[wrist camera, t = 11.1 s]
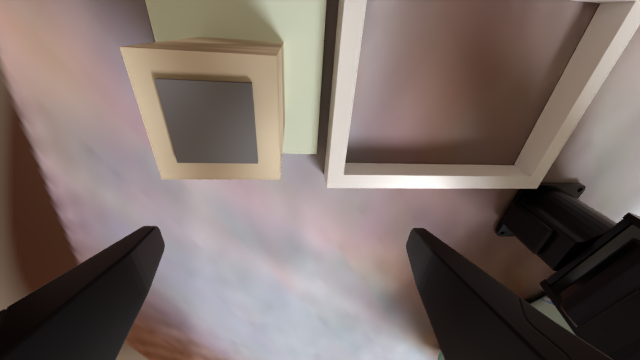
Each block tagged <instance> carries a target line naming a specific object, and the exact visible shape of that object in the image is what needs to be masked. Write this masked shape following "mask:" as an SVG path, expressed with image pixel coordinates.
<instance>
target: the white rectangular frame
mask: <svg viewBox="0 0 640 360" xmlns="http://www.w3.org/2000/svg"><path fill="white" fill-rule="evenodd" d="M572 1H582V2H592V3H600V5H599V7H598V9H597V11H596V12H595V14H594V16H593V18H592V20H591V22H590V24H589V25H588V27H587V29H586V31H585V33H584V35H583V37H582V39H581V40H580V42H579V44H578V46H577V48H576V50H575V52H574V53H573V55H572V57H571V59H570V61H569V63H568V65H567V67H566V68H565V70H564V72H563V74H562V76H561V78H560V80H559V81H558V83H557V85H556V87H555V89H554V91H553V93H552V95H551V96H550V98H549V100H548V102H547V104H546V106H545V108H544V110H543V111H542V113H541V115H540V117H539V119H538V121H537V123H536V124H535V126H534V128H533V130H532V132H531V134H530V136H529V138H528V139H527V141H526V143H525V145H524V147H523V149H522V151H521V152H520V154H519V156H518V158H517V160H516V162H515V164H514V165H458V164H393V163H345V160H346V152H347V145H348V137H349V130H350V122H351V115H352V107H353V100H354V92H355V85H356V77H357V69H358V62H359V54H360V47H361V39H362V32H363V24H364V17H365V9H366V2H367V0H339V6H338V17H337V29H336V41H335V52H334V64H333V76H332V88H331V99H330V111H329V123H328V134H327V146H326V158H325V169H324V177H325V182H326V187H327V188H478V189H537V188H538V186H539V185H540V183H541V181H542V180H543V178H544V177H545V175H546V173H547V172H548V170H549V169H550V167H551V165H552V164H553V162H554V161H555V159H556V157H557V156H558V154H559V153H560V151H561V149H562V148H563V146H564V145H565V143H566V141H567V140H568V138H569V137H570V135H571V133H572V132H573V130H574V129H575V127H576V125H577V124H578V122H579V121H580V119H581V117H582V116H583V114H584V113H585V111H586V109H587V108H588V106H589V105H590V103H591V101H592V100H593V98H594V97H595V95H596V93H597V92H598V90H599V89H600V87H601V85H602V84H603V82H604V81H605V79H606V78H607V76H608V74H609V73H610V71H611V70H612V68H613V66H614V65H615V63H616V62H617V60H618V58H619V57H620V55H621V54H622V52H623V50H624V49H625V47H626V46H627V44H628V42H629V41H630V39H631V38H632V36H633V34H634V33H635V31H636V30H637V28H638V26H639V25H640V0H572Z"/></svg>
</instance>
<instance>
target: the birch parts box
mask: <svg viewBox="0 0 640 360" xmlns="http://www.w3.org/2000/svg"><path fill="white" fill-rule="evenodd" d="M120 50H121V53H122V56H123V59H124V63H125V66H126V69H127V72H128V75H129V78H130V81H131V84H132V88H133V91H134V94H135V97H136V100H137V103H138V106H139V109H140V113H141V116H142V119H143V122H144V125H145V128H146V131H147V134H148V137H149V141H150V144H151V147H152V150H153V153H154V156H155V159H156V162H157V166H158V169H159V172H160V175H161V178H162V179H280V176H281V164H282V152H283V140H284V128H285V81H284V42H272V41H256V40H240V39H224V38H208V37H195V38H187V39H179V40H171V41H163V42H155V43H147V44H139V45H131V46H123V47H120Z"/></svg>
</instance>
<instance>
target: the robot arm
mask: <svg viewBox="0 0 640 360" xmlns="http://www.w3.org/2000/svg"><path fill="white" fill-rule="evenodd" d="M584 190H585V186H584V185H582V184H580V183H540V185H539V186H538V188H537V189H519V191H518V193H517V195H516V196H515V198H514V200H513V201H512V203H511V205H510V207H509V208H508V210H507V212H506V213H505V215H504V217H503V219H502V220H501V222H500V224H499V225H498V227H497V229H496V231H495V233H496V234H497V235H498V236H515V237H517V238H518V239H519V240H520V241H521V242H522V243H523V244H524V245H525V246H526V247H527V248H528V249H529V250H530V251H531V252H532V253H534V254H536V255H538V256H539V257H540V258H541V259H542V260H543V261H544V262H545V263H546V264H547V265H548V266H549V267H550V268H551V269H552V270H553V271H556V272H555V273H554V274H553V275H551V276H550V277H549V278H548V279H546V280H543V281H542V282H540V285H541V286H542V288H543V289H544V291H545V293H546V294H547V296H548V297H549V299H550V300H551V301H552V303H553V304H554V306H555V307H556V309H557V310H558V311H559V313H560V314H561V316H562V317H563V318H564V320H565V321H566V323H567V324H568V325H569V327H570V328H571V330H572V331H573V332H574V334H575V335H574V334H573V333H571V332H570V331H568V330H567V329H565V328H564V327H562V326H561V325H559V324H558V323H556V322H555V321H553V320H552V319H550V318H549V317H547V316H546V315H545V314H543V313H542V312H540V311H539V310H537V309H536V308H534V307H533V306H532V305H530V304H529V303H528V302H526V301H525V300H523V299H522V298H519V297H518V295H516V294H515V293H513V292H512V291H511V290H509V289H508V288H507V287H505V286H504V285H502V284H501V283H500V282H498V281H497V280H495V279H494V278H493V277H491V276H490V275H488V274H487V273H486V272H484V271H483V270H481V269H480V268H479V267H477V266H476V265H475V264H473V263H472V262H470V261H469V260H468V259H466V258H465V257H463V256H462V255H461V254H459V253H458V252H456V251H455V250H454V249H452V248H451V247H449V246H448V245H447V244H445V243H444V242H442V241H441V240H440V239H438V238H437V237H436V236H434V235H433V234H431V233H430V232H429V231H427V230H426V229H424V228H413V229H412V230H411V232H410V235H409V238H408V241H407V244H406V249H407V253H408V257H409V261H410V264H411V268H412V272H413V275H414V279H415V283H416V286H417V289H418V292H419V295H420V297H421V300H422V302H423V305H424V307H425V310H426V313H427V315H428V318H429V320H430V323H431V325H432V328H433V331H434V333H435V336H436V338H437V341H438V343H439V346H440V349H441V351H442V354H443V356H444V359H445V360H640V217H639V216H637V215H634V214H632V213H627V214H626V215H625V216H624V217H622V218H624V219H622V220H621V221H620V222H619V223H616V222H614V221H612V220H611V219H609V218H607V217H606V216H604V215H603V214H601V213H599V212H598V211H596V210H594V209H593V208H591V207H589V206H588V205H586V204H585V203H583V202H581V201H580V200H578V198H579V197H580V195H581V194H582V193H583V191H584ZM164 248H165V244H164V241H163V238H162V235H161V232H160V229H159V228H158V227H157V226H143V227H141V228H140V229H138V230H136V231H135V232H133V233H131V234H130V235H128V236H126V237H124V238H123V239H121V240H119V241H118V242H116V243H114V244H113V245H111V246H109V247H108V248H106V249H104V250H103V251H101V252H99V253H98V254H96V255H94V256H93V257H91V258H89V259H88V260H86V261H84V262H82V263H81V264H79V265H77V266H76V267H74V268H72V269H71V270H69V271H67V272H66V273H64V274H62V275H61V276H59V277H57V278H56V279H54V280H52V281H51V282H49V283H47V284H46V285H44V286H42V287H40V288H39V289H37V290H35V291H34V292H32V293H31V294H29V295H27V296H25V297H24V298H22V299H20V300H19V301H17V302H15V303H14V304H12V305H10V306H9V307H7V309H4V310H2V311H0V360H116V358H117V355H118V354H119V351H120V349H121V347H122V345H123V343H124V341H125V339H126V337H127V335H128V333H129V331H130V329H131V327H132V325H133V323H134V321H135V319H136V317H137V315H138V313H139V311H140V309H141V307H142V305H143V303H144V301H145V299H146V296H147V294H148V292H149V290H150V287H151V284H152V282H153V279H154V276H155V273H156V271H157V268H158V265H159V263H160V260H161V257H162V254H163V252H164Z"/></svg>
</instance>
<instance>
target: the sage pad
mask: <svg viewBox="0 0 640 360" xmlns="http://www.w3.org/2000/svg"><path fill="white" fill-rule="evenodd" d="M326 1H327V0H145V2H146V6H147V10H148V14H149V18H150V22H151V26H152V30H153V34H154V38H155V42H163V41H171V40H179V39H187V38H195V37H208V38H224V39H240V40H256V41H272V42H284V81H285V128H284V140H283V152H282V153H291V154H317V141H318V125H319V110H320V94H321V79H322V63H323V47H324V32H325V16H326Z"/></svg>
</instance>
